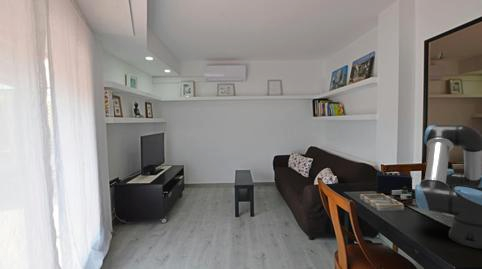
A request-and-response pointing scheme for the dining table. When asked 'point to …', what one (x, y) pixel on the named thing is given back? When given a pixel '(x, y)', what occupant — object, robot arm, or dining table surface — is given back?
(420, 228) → the dining table surface
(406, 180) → the speaker
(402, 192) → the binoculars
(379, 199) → the tray
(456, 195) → the robot arm
